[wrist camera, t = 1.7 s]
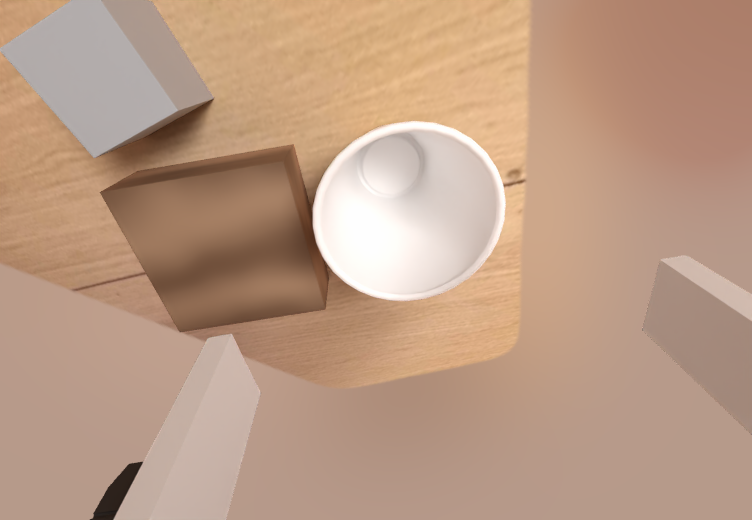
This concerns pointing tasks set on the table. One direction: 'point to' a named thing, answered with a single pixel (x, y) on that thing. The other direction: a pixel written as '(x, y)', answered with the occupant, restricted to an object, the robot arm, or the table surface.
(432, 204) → the cup
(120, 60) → the grey cube
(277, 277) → the walnut block
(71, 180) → the table surface
